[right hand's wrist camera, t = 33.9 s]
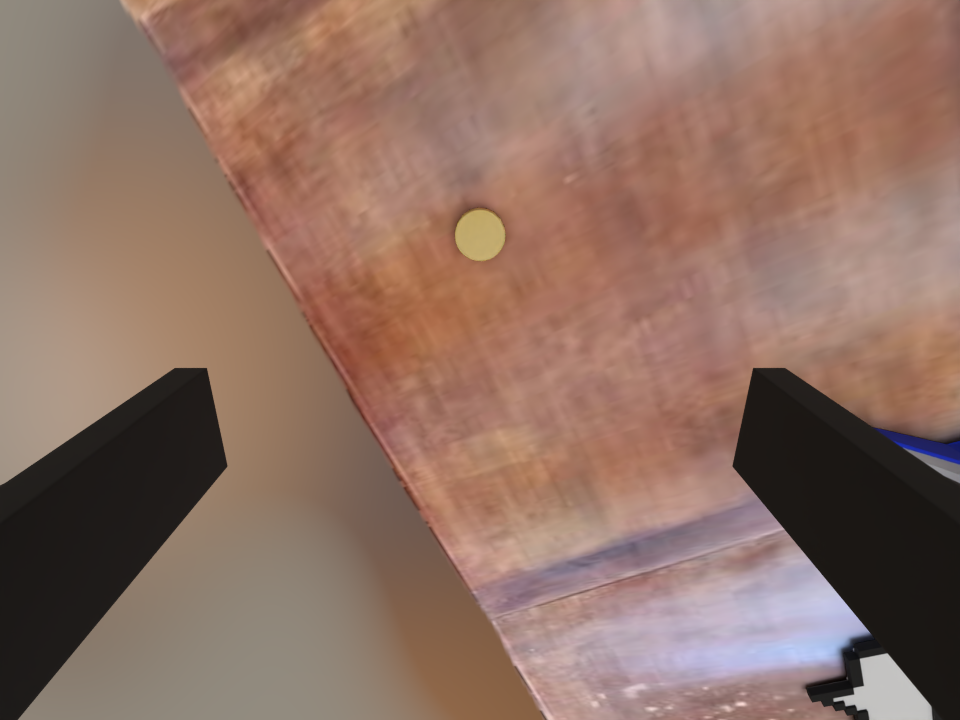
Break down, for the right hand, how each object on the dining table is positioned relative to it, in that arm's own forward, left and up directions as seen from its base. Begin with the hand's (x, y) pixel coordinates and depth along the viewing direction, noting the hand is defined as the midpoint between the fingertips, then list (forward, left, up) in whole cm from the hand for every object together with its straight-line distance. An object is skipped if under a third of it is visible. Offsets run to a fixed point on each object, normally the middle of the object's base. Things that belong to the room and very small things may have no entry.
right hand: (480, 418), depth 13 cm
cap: (0, 0, -33) cm, 33 cm away
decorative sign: (-77, -8, -34) cm, 85 cm away
